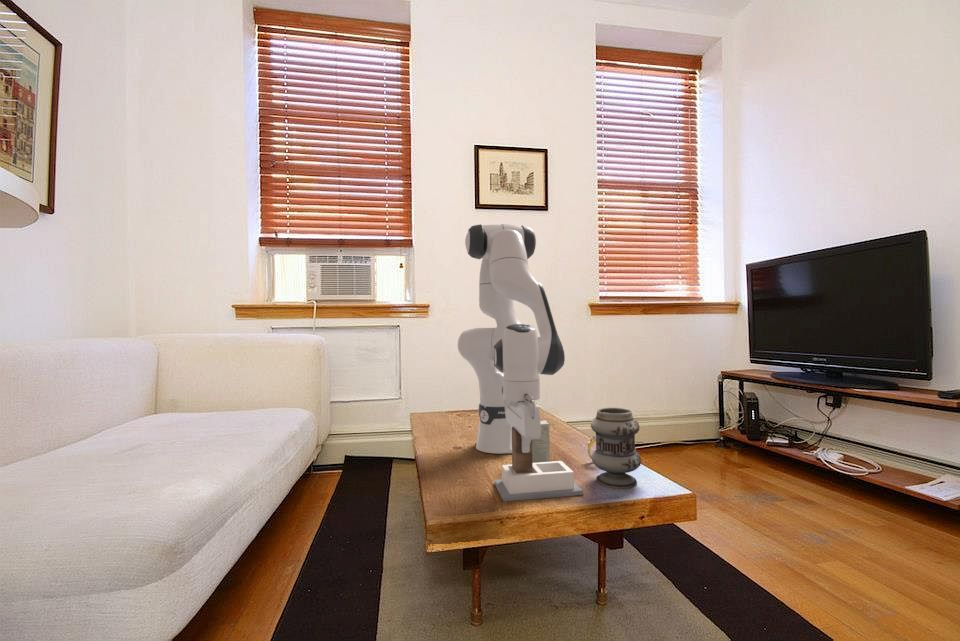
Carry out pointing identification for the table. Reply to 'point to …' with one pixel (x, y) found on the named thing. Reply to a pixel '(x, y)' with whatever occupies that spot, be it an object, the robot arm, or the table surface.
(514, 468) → the walnut peg
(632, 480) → the apothecary jar
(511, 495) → the slot rack
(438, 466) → the table surface
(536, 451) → the skincare box
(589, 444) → the ring
